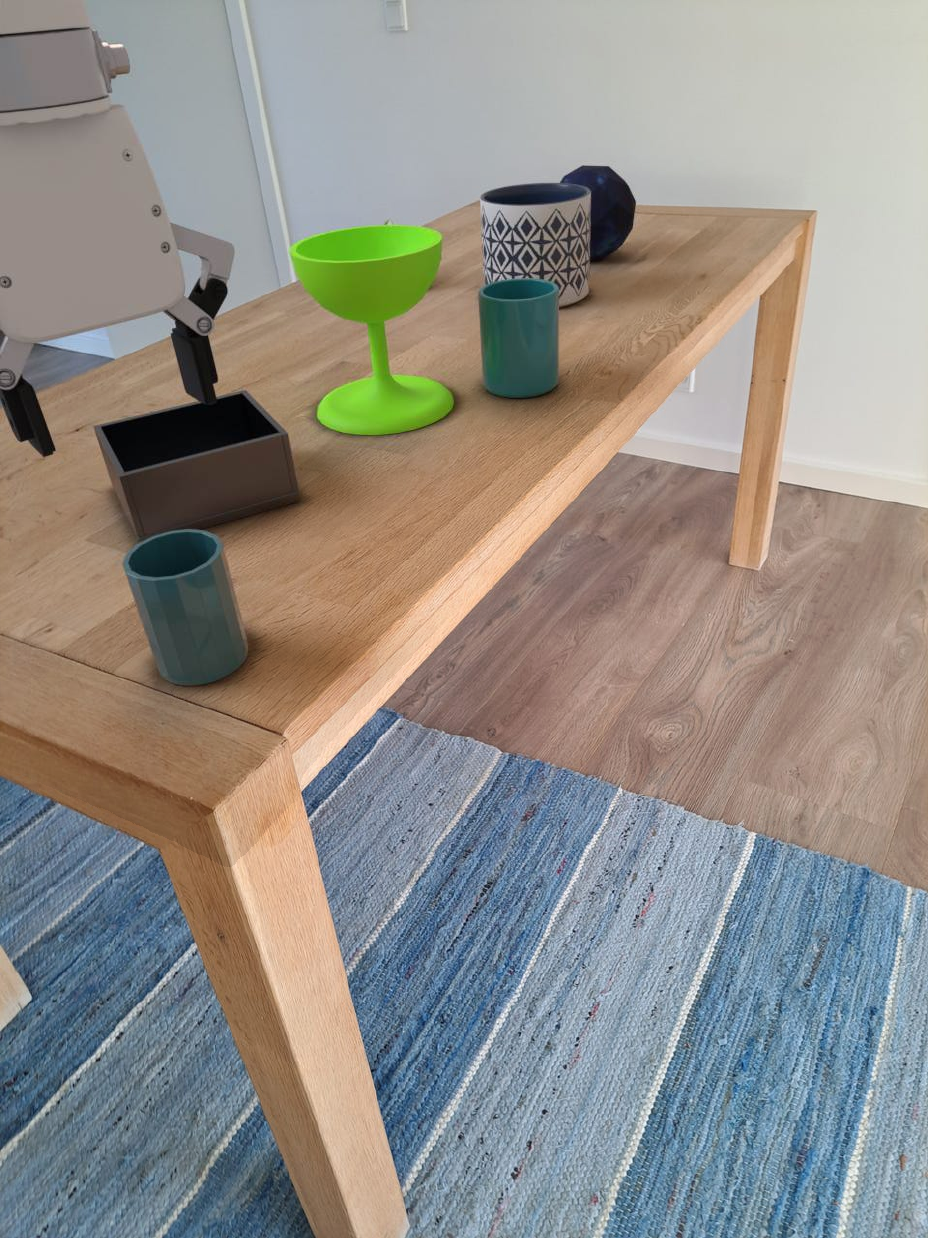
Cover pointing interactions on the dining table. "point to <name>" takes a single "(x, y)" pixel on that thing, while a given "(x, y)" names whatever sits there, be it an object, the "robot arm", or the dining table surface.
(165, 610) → the tumbler
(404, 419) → the wineglass
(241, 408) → the grey open box
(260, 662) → the dining table surface
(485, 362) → the cup
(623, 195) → the decorative orb
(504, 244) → the planter
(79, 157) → the robot arm
